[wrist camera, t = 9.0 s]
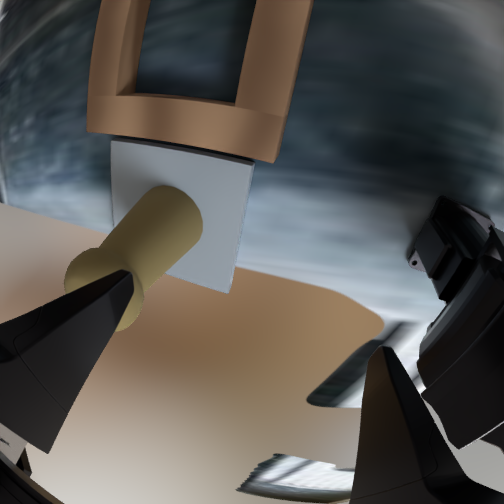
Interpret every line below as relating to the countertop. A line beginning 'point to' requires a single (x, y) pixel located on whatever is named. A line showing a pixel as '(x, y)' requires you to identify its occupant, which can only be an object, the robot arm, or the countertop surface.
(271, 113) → the pocket frame
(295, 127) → the countertop surface
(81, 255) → the cork
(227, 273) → the mat
